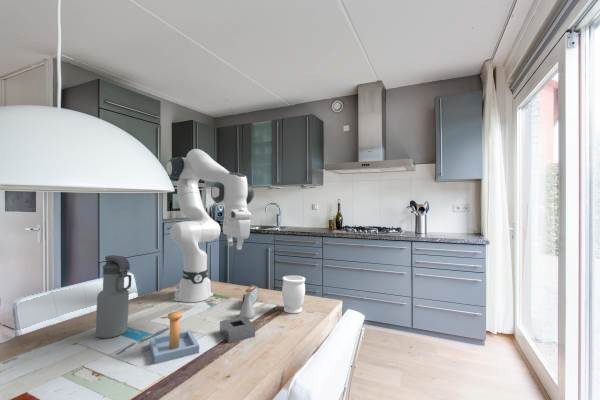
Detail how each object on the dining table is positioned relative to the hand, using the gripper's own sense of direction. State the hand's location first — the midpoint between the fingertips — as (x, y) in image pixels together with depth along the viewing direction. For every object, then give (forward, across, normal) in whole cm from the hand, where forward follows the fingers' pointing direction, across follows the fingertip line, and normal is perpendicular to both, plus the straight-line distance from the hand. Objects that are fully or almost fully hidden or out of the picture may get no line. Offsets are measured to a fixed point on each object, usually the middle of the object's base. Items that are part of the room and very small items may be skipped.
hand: (234, 247), depth 116 cm
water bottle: (+31, -15, -40) cm, 53 cm away
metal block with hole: (+31, +8, -1) cm, 32 cm away
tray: (+31, +8, -23) cm, 39 cm away
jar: (+31, -2, +30) cm, 43 cm away
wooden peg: (+30, +8, -23) cm, 39 cm away
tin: (+31, -18, +16) cm, 40 cm away
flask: (+31, -6, +9) cm, 33 cm away
